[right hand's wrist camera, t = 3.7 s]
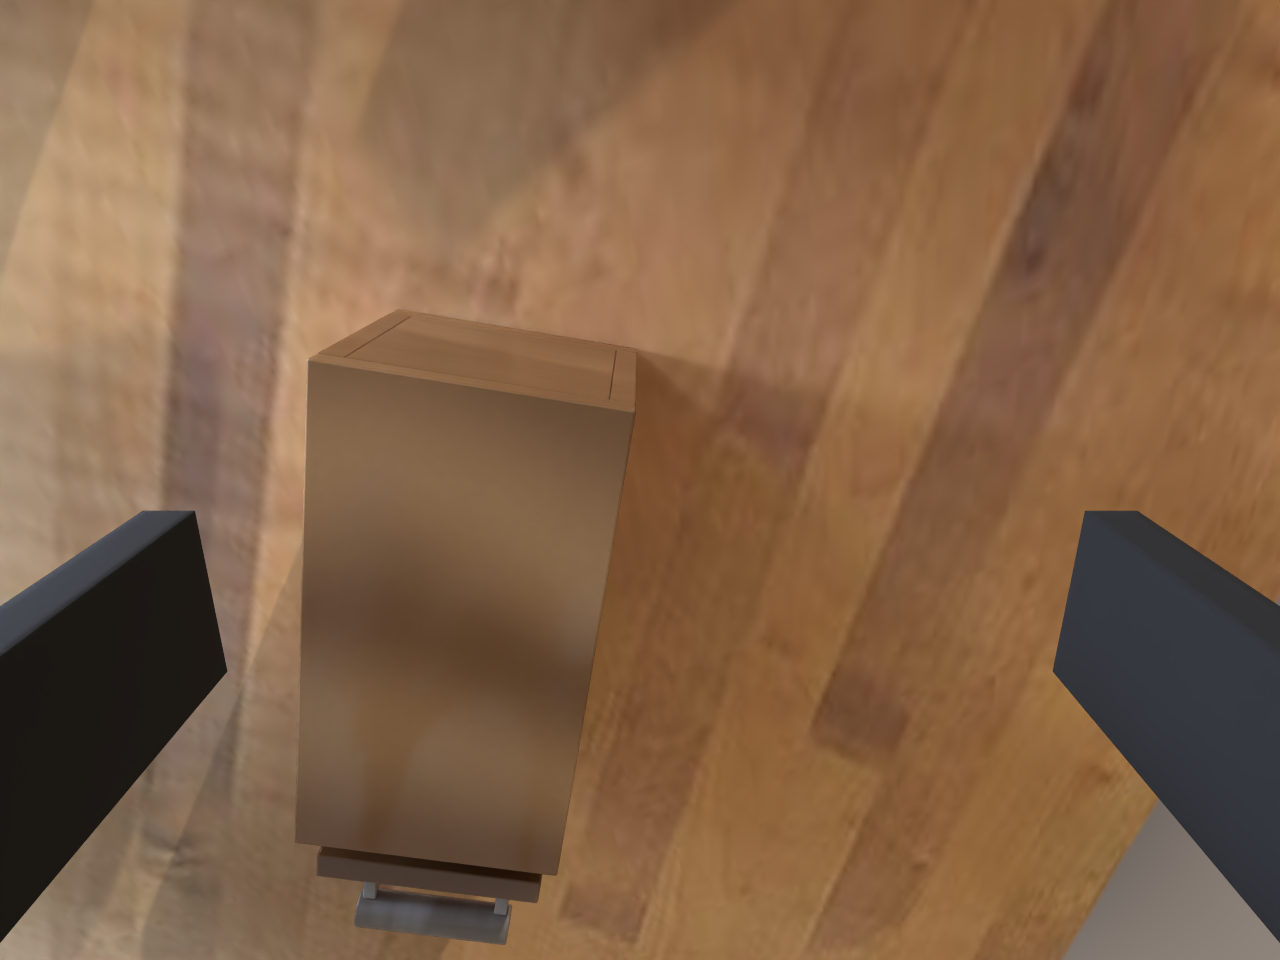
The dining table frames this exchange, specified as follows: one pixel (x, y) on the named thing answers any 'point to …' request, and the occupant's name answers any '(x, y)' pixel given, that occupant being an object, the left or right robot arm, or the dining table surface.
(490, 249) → the dining table surface
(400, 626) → the cabinet
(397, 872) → the drawer
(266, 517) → the dining table surface
